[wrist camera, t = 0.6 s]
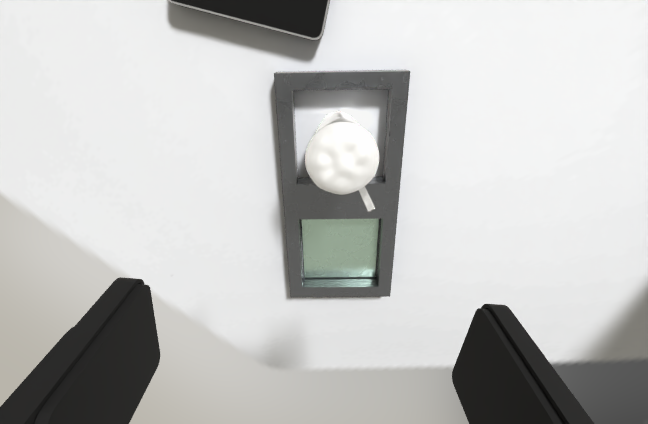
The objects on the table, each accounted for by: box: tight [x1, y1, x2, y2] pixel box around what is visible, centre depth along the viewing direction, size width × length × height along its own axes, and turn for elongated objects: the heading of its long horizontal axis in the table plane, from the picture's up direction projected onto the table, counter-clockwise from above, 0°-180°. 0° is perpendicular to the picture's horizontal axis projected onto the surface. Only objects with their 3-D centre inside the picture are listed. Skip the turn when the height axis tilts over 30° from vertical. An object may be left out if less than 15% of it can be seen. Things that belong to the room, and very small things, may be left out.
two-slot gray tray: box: [274, 70, 410, 297], centre depth 30 cm, size 10×21×2 cm, turn 1°
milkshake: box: [305, 111, 379, 212], centre depth 24 cm, size 4×5×10 cm
